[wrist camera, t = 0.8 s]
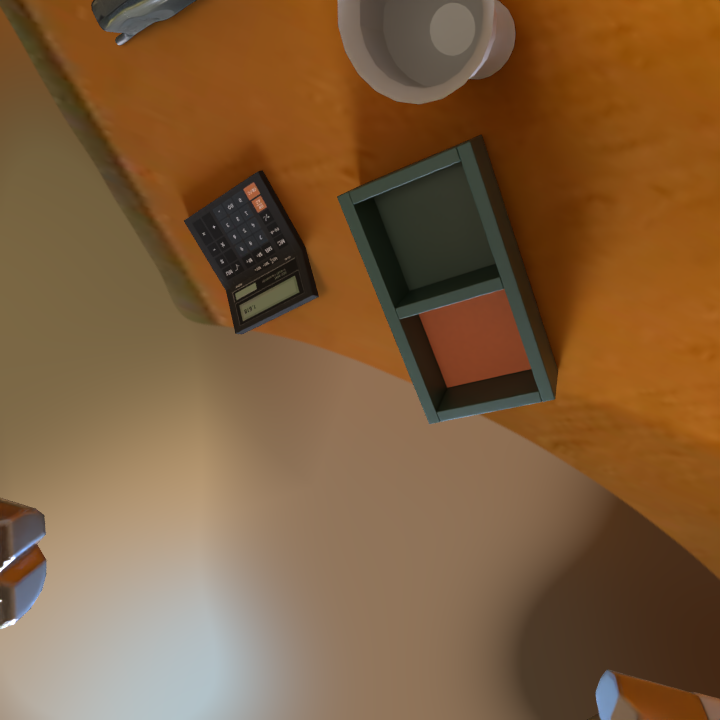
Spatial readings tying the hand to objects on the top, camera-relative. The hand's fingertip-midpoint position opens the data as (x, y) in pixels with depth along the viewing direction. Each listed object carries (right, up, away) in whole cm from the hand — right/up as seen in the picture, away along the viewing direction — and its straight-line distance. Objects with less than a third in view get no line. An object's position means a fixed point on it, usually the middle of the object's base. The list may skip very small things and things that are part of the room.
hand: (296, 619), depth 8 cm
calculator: (-8, +14, +45) cm, 48 cm away
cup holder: (+9, +10, +40) cm, 42 cm away
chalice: (+9, +26, +32) cm, 43 cm away
